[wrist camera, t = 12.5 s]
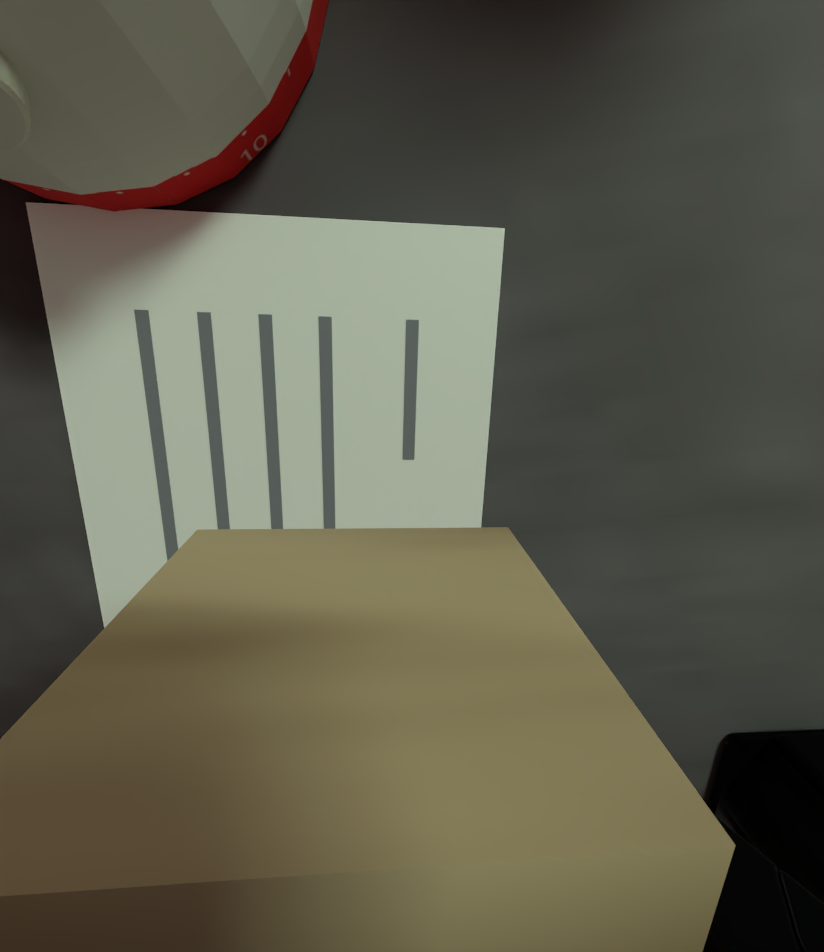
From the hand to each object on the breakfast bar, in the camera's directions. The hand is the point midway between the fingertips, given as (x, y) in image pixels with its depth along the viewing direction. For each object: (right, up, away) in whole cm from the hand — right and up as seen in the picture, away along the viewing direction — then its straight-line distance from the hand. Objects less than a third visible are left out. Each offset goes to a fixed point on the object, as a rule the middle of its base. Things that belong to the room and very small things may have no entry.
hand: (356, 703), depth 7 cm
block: (0, 0, +1) cm, 1 cm away
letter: (-4, +3, +10) cm, 11 cm away
